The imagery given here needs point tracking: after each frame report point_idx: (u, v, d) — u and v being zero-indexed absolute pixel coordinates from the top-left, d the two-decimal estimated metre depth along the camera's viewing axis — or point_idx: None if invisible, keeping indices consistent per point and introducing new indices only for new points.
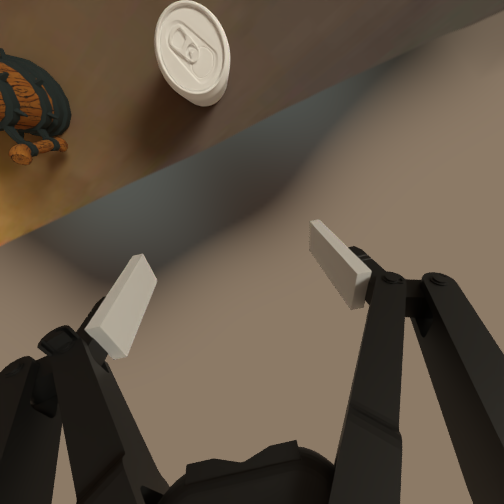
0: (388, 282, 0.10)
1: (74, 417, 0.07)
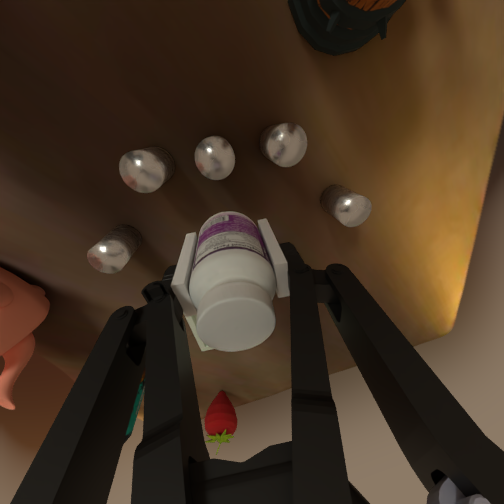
0: (299, 272, 0.11)
1: (153, 363, 0.08)
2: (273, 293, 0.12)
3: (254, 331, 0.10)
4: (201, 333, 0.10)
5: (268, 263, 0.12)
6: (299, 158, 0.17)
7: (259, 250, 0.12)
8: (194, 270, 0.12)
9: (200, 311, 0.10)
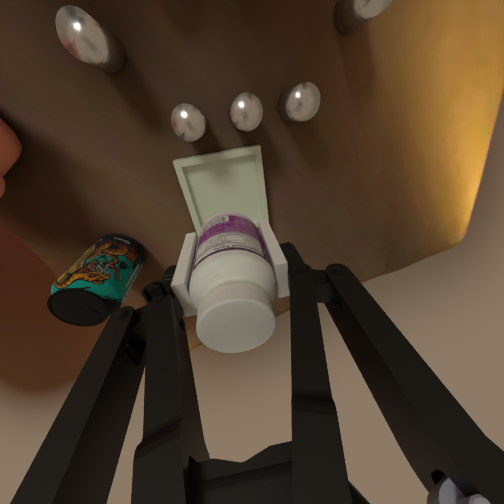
0: (299, 272, 0.11)
1: (153, 363, 0.08)
2: (273, 294, 0.12)
3: (254, 333, 0.10)
4: (201, 334, 0.10)
5: (268, 264, 0.12)
6: None
7: (259, 250, 0.12)
8: (194, 271, 0.11)
9: (200, 312, 0.10)
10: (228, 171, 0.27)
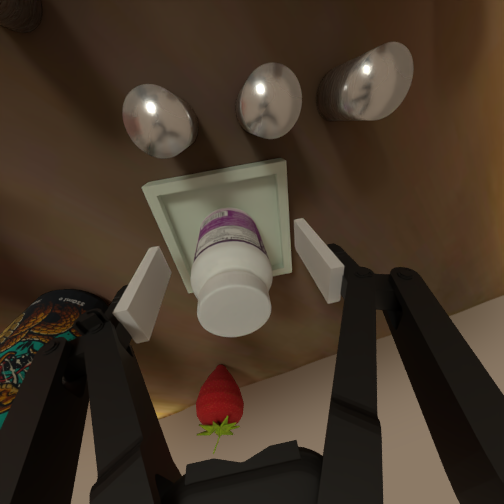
0: (359, 276, 0.10)
1: (100, 396, 0.07)
2: (269, 283, 0.13)
3: (251, 317, 0.11)
4: (202, 319, 0.11)
5: (265, 255, 0.13)
6: None
7: (256, 242, 0.13)
8: (195, 261, 0.12)
9: (201, 298, 0.10)
10: (233, 199, 0.17)
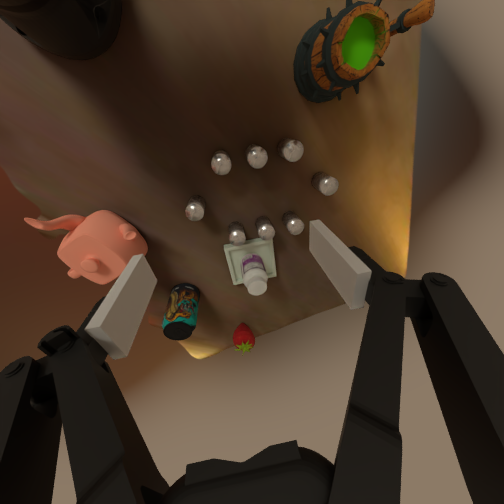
0: (388, 282, 0.10)
1: (74, 417, 0.07)
2: (266, 280, 0.43)
3: (261, 289, 0.41)
4: (248, 289, 0.41)
5: (265, 272, 0.43)
6: (299, 157, 0.34)
7: (262, 268, 0.43)
8: (245, 274, 0.42)
9: (249, 283, 0.40)
10: (253, 250, 0.47)
